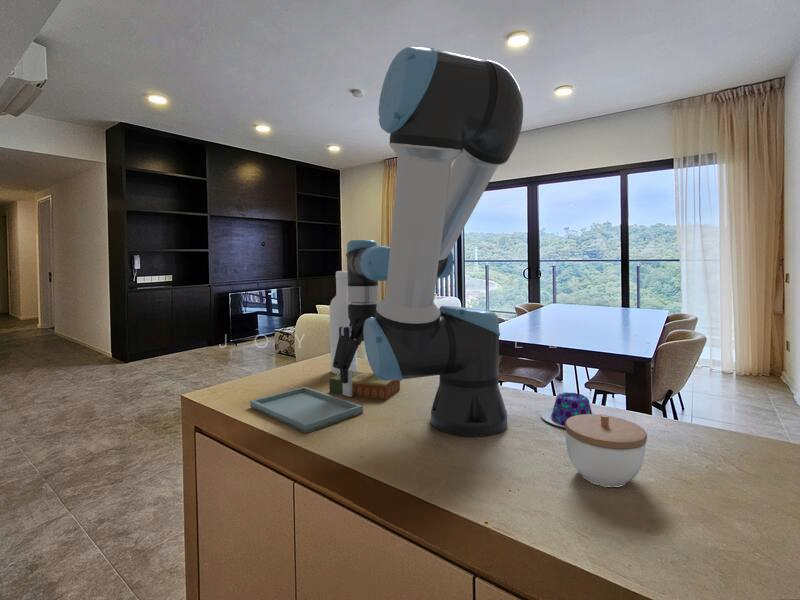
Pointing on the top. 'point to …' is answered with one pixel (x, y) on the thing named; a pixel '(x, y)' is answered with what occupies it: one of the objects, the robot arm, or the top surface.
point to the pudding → (567, 408)
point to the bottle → (340, 317)
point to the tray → (306, 408)
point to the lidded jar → (605, 448)
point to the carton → (366, 386)
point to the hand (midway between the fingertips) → (364, 390)
